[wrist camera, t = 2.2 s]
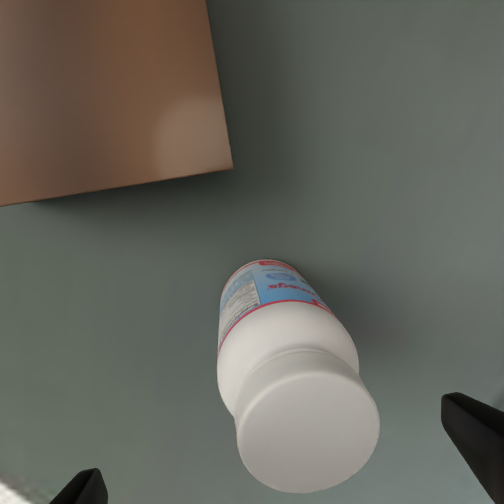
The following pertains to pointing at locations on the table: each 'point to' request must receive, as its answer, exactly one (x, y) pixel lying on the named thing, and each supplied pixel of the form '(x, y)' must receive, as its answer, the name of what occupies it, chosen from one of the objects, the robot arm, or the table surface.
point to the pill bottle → (291, 382)
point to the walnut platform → (106, 96)
